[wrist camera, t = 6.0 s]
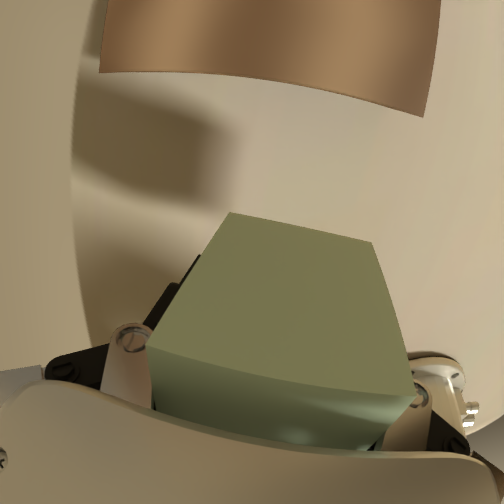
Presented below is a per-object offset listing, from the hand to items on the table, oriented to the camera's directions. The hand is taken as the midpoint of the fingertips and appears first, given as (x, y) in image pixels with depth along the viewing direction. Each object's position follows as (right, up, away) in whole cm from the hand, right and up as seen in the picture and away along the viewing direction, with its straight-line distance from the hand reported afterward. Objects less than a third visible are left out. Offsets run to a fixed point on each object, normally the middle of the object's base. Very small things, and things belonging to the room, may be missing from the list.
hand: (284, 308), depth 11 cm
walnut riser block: (0, +17, 0) cm, 17 cm away
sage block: (0, +1, +1) cm, 1 cm away
